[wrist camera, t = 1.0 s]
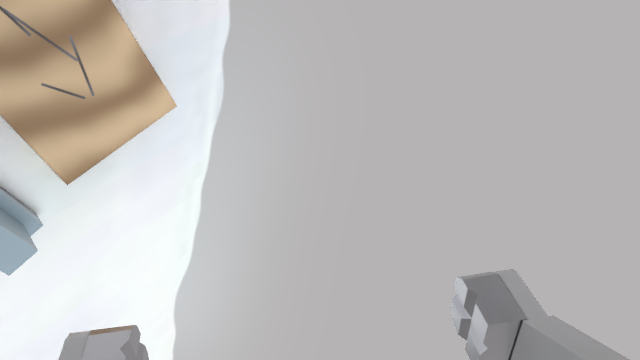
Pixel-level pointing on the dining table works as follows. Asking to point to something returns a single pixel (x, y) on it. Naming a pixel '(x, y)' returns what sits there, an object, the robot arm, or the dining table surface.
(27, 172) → the dining table surface
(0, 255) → the block
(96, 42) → the oak board
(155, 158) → the dining table surface
